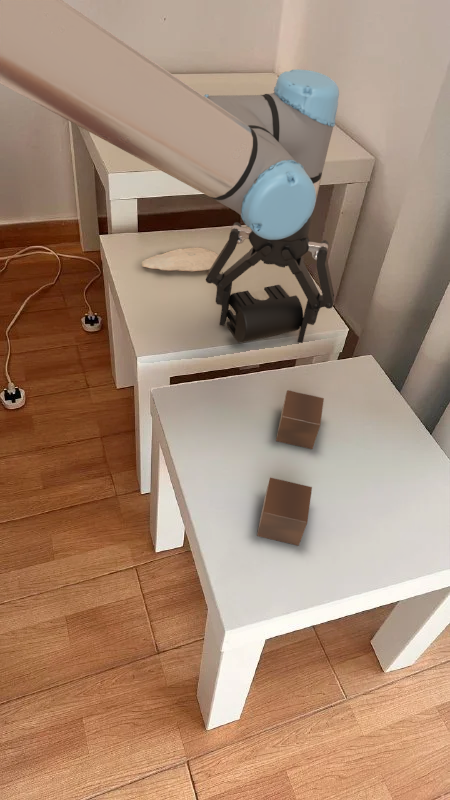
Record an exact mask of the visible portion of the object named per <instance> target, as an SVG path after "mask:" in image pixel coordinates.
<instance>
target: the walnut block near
mask: <svg viewBox="0 0 450 800" xmlns="http://www.w3.org/2000/svg"><path fill="white" fill-rule="evenodd" d="M312 491H313V486H309V485H305V484H300V483H296V482H292V481H287V480H283V479H279V478H275V477H269V480H268V483H267V487H266V491H265V494H264V495H265V496H264V499H263V503H262V508H261V513H260V518H259V523H258V528H257V533H256V536H257V537H260V538H264V539H268V540H273V541H277V542H281V543H285V544H288V545H289V544H290V545H293V546H297V547H298V546H299V547H300V544H301V541H302V538H303V536H304V533H305V531H306V527H307V524H308V520H309V513H310V507H311V506H310V505H311V498H312Z"/></svg>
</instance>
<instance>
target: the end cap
mask: <svg viewBox="0 0 450 800" xmlns="http://www.w3.org/2000/svg"><path fill="white" fill-rule="evenodd" d="M263 290H264V292H265V293H266V295H267V296H268V298H266V299H258V298H256V297H254V296H253V295H252V294H251V292H250V291H249V290H243V291H238V292H233V293H231V295H230V297H229V301H228V302H229V307H231V309H229V310H228V312H227V319H228V320H229V321H226V322H227V323H226V327H227V329H228V330H229V332H230V333H231V335H232V336H233V338H234V339H235V341H236V342H237V343H240V344H241V343H247V342H251V341H252V342H253V341H255V340H260V339H264V338H269V337H274V336H279V335H283V334H287V333H291V332H296V331H298V330H300V328H301V325H302V321H303V316H304V309H303V305H302V303H301V300H300V299H299V297H298V295H291V296H290V295H289V294H288V293H287V291H286V290H284V288H283V287H282V285H281V284H275V285H269V286H265V287H263ZM232 310H233V311H232ZM233 312H234V313H235V314H234V313H233Z"/></svg>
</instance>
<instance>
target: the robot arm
mask: <svg viewBox="0 0 450 800" xmlns="http://www.w3.org/2000/svg"><path fill="white" fill-rule="evenodd" d="M0 85H2V86H4V87H5V88H7V89H9V90H11V91H13V92H15V93H17V94H18V95H20V96H22V97H24V98H26V99H28V100H29V101H31V102H33V103H35V104H37V105H38V106H41V107H43V108H44V109H46V110H48V111H50V112H52V113H54V114H55V115H57V116H59V117H61V118H63V119H65V120H66V121H68V122H71V123H72V124H74V125H76V126H77V127H79V128H82V129H84V130H85V131H87V132H89V133H91V134H92V135H94V136H97V137H98V138H100V139H102V140H103V141H105V142H107V143H109V144H111V145H113V146H114V147H116V148H119V149H120V150H121V151H124V152H126V153H128V154H129V155H131V156H133V157H135V158H137V159H139V160H140V161H143V162H144V163H146V164H148V165H150V166H152V167H153V168H155V169H158V170H159V171H161V172H163V173H165V174H167V175H168V176H170V177H172V178H174V179H176V180H178V181H179V182H181V183H183V184H185V185H187V186H189V187H191V188H192V189H194V190H196V191H198V192H200V193H202V194H204V195H205V196H207V197H209V198H211V199H213V200H215V201H216V202H218V203H220V204H222V205H223V206H225V207H227V208H229V209H231V210H232V211H233V212H234V211H235V212H236V213H237V214H239V216H240V218H241V219H242V221H243V223H244V224H245V226H246V227H243V226H242V224H241V223H240V222H234V223H233V224H232V226H231V230H230V232H229V235H228V240H227V241H226V243H225V244H224V246H223V248H222V249H221V251H220V252H219V254H218V257H217V259H216V260H215V262H214V263H213V265H212V266H211V268H210V269H209V270H208V272H207V275H206V276H205V282H206V283H207V284H213V285H215V286H216V295H215V304H216V305H219V306H221V309H220V318H219V326H223V327H225V325H226V322H227V319H228V317H227V312H228V310H229V308H230V304H229V302H228V301H229V297H230V295H231V294H232V288H233V287H232V286H233V282H234V281H235V280H237V279H238V278H239V277H240V276H241V275H242V274H244V273H245V272H247V270H249V269H250V268H252V267H254V266H255V265H257V264H258V263H259V262H260V261H262V262H263V264H264V265H275V266H277V267H279V268H286V267H288V268H289V270H290V272H291V274H292V275H294V278H295V279H296V281H297V282H298V284H299V286H300V288H301V290H302V291H303V294H304V295H305V298H306V304H305V308H304V311H303V321H302V325H301V327H300V328H299V332H298V339H297V343H300V344H303V342H304V338H305V334H306V330H307V327H308V325H311V326H314V325H315V324H316V322H317V318H318V315H319V312H320V309H321V308H326V309H328V310H329V309H332V308H333V306H334V302H335V301H334V300H335V293H334V287H333V282H332V276H331V271H330V267H329V261H328V251H329V241H328V240H324V239H322V240H321V241H320V242H315V241H311V240H310V238H309V233H310V229H311V225H312V221H313V220H312V219H313V215H314V212H315V206H316V203H317V199H318V194H319V190H320V185H321V181H322V178H323V171H324V167H325V163H326V160H327V155H328V150H329V147H330V142H331V138H332V134H333V130H334V127H335V125H336V118H337V112H338V106H339V98H340V97H339V96H340V89H339V86H338V84H337V82H336V81H334V80H333V79H332V78H331V77H330V76H328V75H326V74H324V73H321V72H317V71H314V70H309V69H298V68H297V69H291V70H288V71H284V72H282V73H280V74H279V76H278V77H277V79H276V82H275V86H274V87H273V92H272V93H264V94H239V95H238V94H232V95H231V94H230V95H229V94H228V95H224V94H223V95H221V94H219V95H209V94H204V95H203V94H202V93H201V92H199V91H198V90H196V89H194V88H193V87H192V86H190V85H189V84H188V83H186V82H184V81H183V80H181V79H180V78H178V77H177V76H175V75H174V74H172V73H171V72H169V71H168V70H166V68H163V67H162V66H161V65H159V64H158V63H157V62H155V61H153V60H152V59H150V58H149V57H147V56H145V54H143V53H141V52H140V51H138V50H137V49H135V48H134V47H132V46H131V45H129V44H128V43H127V42H125V41H124V40H122V39H121V38H119V37H118V36H116V35H115V34H113V33H112V32H111V31H109V30H108V29H106V28H104V27H103V26H101V25H100V24H98V23H97V22H96V21H94V20H92V19H91V18H90V17H88V16H87V15H85V14H84V13H82V12H81V11H79V10H78V9H76V8H75V7H73V6H72V5H70V4H69V3H68V2H66V1H65V0H0ZM245 240H248V241H249V243H250V244H251V248H250V249H249V251H248V252H246V253H245V254H244V255H243V256H242V257H240V258H239V259H238V260H237V261H236V262H234V263H233V264H232V265H231V266H230V267H228V268H227V269H226V270H225V271H224V272H221V271H222V270H223V268H224V267H225V265H226V263H227V262H228V260H229V259H230V257H231V256H232V255H233V253H234V251H235V250H236V248H237V245H241V244H243V243H244V242H245ZM308 252H309V253H310V254H311V258H313V260H314V261H316V270H317V275H318V280H319V285H320V289H321V292H320V290H319V288H318V287H317V284H316V283H315V281H314V279H313V277H312V275H311V273H310V271H309V270H308V268H307V266H306V264H305V260H304V258H303V256H304V255H305V254H306V253H308Z"/></svg>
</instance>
